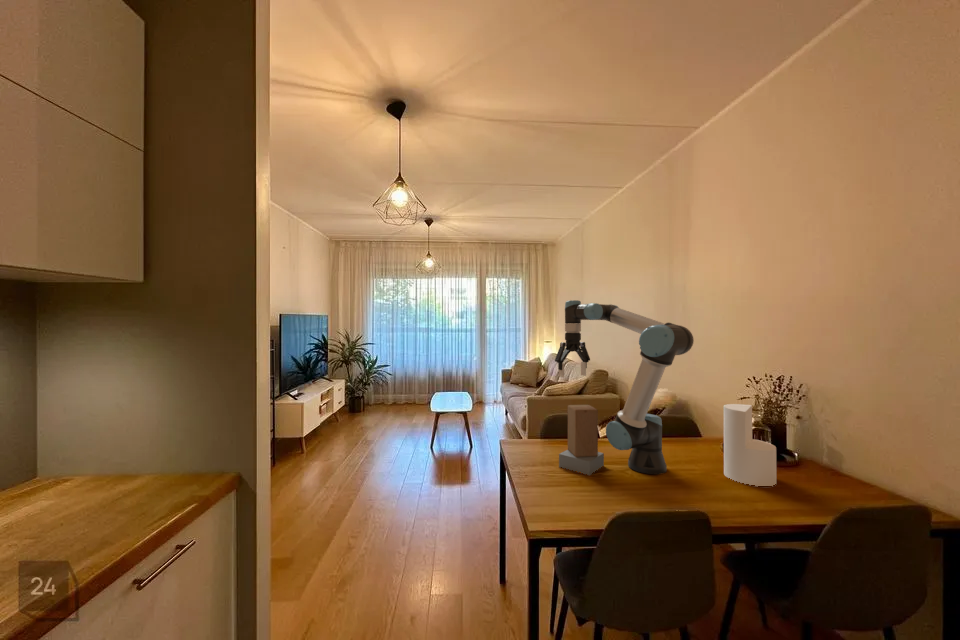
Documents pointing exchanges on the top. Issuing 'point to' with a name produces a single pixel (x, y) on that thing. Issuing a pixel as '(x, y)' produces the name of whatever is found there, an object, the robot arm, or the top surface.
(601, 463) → the slate base block
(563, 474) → the top surface
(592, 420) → the wooden block
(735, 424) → the white stepped column
